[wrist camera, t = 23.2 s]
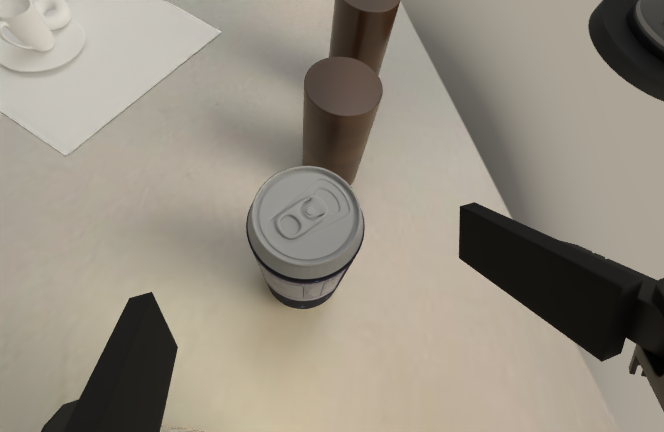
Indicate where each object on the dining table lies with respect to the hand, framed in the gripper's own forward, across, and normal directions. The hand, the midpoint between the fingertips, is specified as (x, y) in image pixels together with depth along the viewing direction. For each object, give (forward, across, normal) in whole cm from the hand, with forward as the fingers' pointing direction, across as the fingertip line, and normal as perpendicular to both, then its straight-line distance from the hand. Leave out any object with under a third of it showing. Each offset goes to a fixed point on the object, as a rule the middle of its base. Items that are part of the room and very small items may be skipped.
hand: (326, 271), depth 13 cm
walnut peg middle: (+16, -5, 0) cm, 17 cm away
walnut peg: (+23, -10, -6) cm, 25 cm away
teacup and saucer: (+31, +15, -14) cm, 38 cm away
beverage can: (+10, 0, +6) cm, 12 cm away
